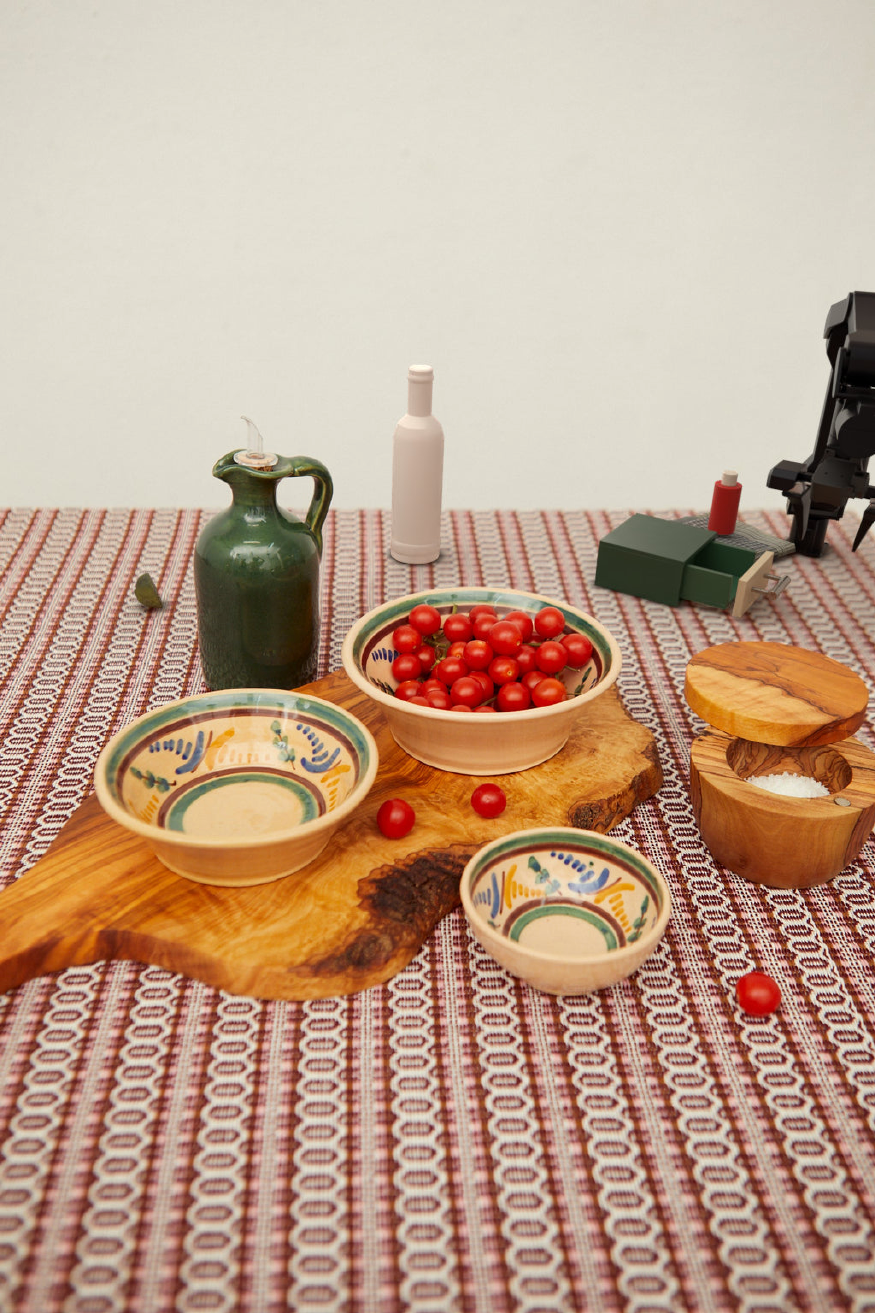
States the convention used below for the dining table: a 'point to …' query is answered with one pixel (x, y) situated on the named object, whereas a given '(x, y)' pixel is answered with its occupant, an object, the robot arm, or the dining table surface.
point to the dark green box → (649, 557)
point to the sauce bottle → (725, 504)
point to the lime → (147, 592)
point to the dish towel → (744, 537)
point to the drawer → (729, 577)
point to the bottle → (417, 475)
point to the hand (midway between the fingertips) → (827, 545)
